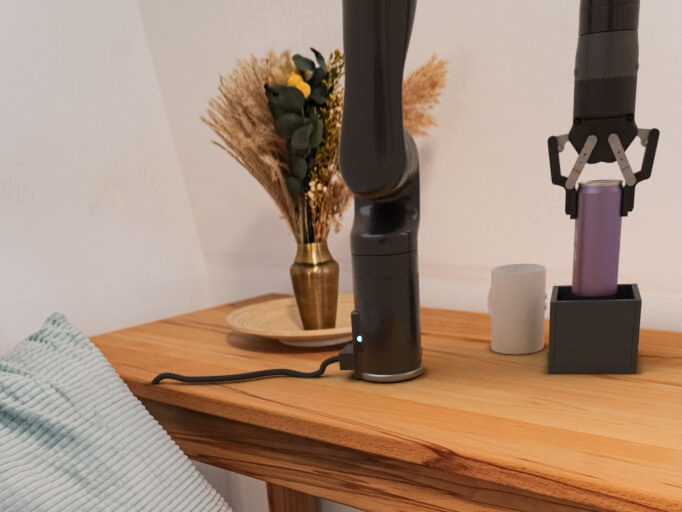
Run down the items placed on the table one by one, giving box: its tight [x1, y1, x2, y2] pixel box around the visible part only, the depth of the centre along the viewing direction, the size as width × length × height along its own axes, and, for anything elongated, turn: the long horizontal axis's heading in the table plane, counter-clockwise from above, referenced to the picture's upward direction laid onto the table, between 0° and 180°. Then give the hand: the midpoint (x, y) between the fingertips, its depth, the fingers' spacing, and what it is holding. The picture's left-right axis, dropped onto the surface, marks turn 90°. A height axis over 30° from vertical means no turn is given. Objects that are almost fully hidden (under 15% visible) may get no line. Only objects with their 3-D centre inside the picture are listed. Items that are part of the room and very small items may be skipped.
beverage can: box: [571, 178, 624, 300], centre depth 113 cm, size 6×6×15 cm
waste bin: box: [547, 283, 643, 375], centre depth 117 cm, size 12×12×10 cm
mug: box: [487, 263, 548, 355], centre depth 129 cm, size 8×12×12 cm
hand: (598, 216), depth 111 cm, fingers closed on beverage can, 6 cm apart
